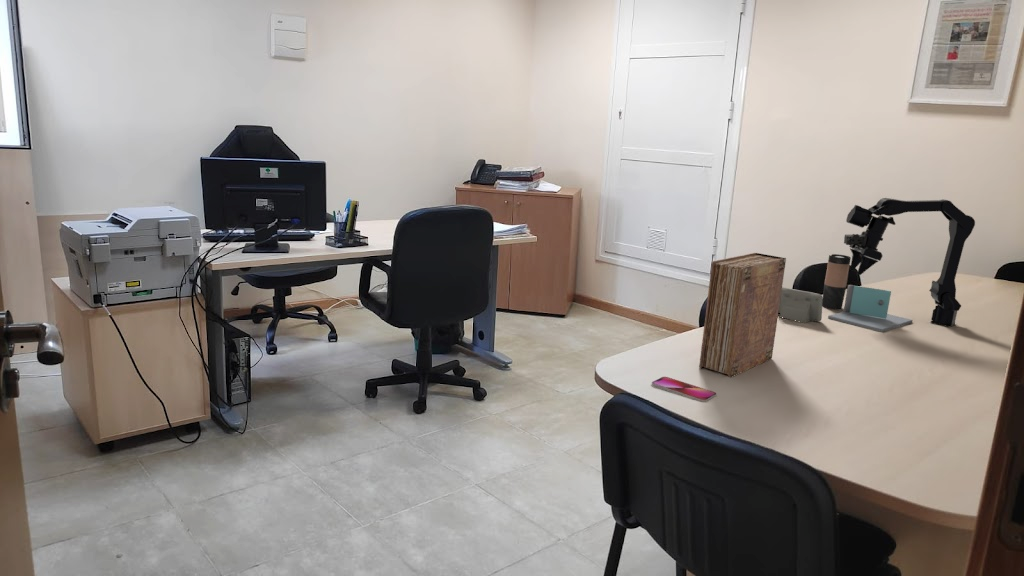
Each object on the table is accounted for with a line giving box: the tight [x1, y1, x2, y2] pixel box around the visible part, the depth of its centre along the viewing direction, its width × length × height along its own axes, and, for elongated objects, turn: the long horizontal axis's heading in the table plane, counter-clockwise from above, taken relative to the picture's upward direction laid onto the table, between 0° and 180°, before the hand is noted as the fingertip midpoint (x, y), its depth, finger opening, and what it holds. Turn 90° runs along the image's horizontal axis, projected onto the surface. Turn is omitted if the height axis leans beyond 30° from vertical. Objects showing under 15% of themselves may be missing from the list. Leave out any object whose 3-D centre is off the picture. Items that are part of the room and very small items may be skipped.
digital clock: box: [778, 286, 823, 324], centre depth 249 cm, size 16×9×11 cm, turn 39°
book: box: [698, 252, 787, 378], centre depth 194 cm, size 25×9×30 cm, turn 135°
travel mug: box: [822, 253, 852, 310], centre depth 267 cm, size 8×8×20 cm
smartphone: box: [651, 376, 717, 403], centre depth 176 cm, size 7×1×15 cm
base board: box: [827, 310, 913, 333], centre depth 252 cm, size 19×24×3 cm
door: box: [843, 284, 892, 319], centre depth 253 cm, size 14×3×10 cm, turn 58°
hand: (855, 272), depth 255 cm, fingers open, 9 cm apart
